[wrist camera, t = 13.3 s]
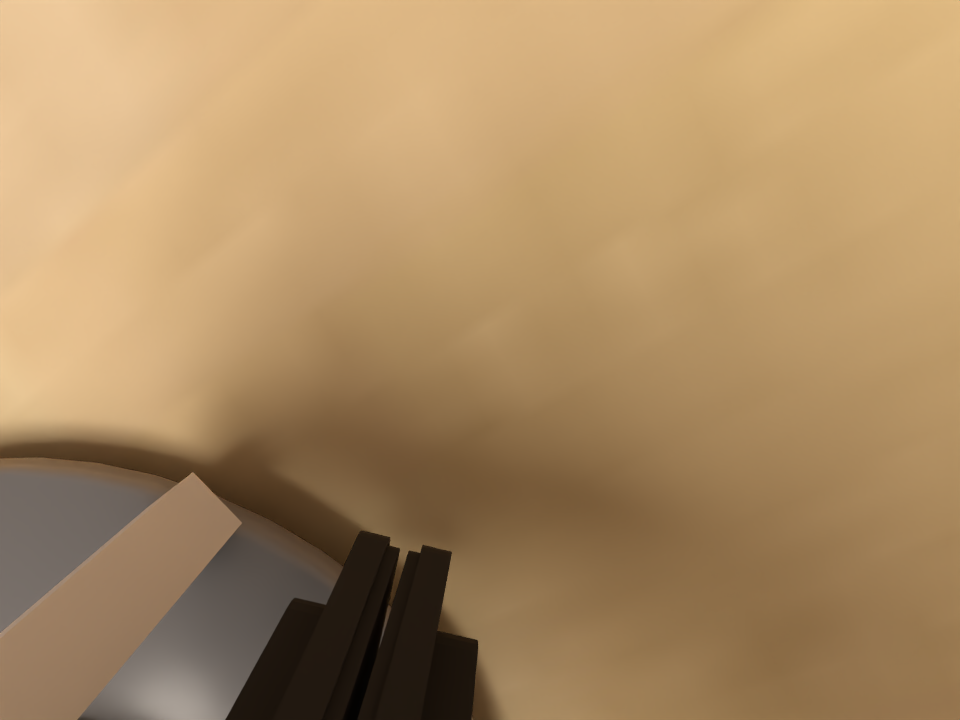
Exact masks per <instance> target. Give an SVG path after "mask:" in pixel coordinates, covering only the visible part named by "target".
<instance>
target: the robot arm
mask: <svg viewBox="0 0 960 720" xmlns="http://www.w3.org/2000/svg"><path fill="white" fill-rule="evenodd" d="M389 545H390V537H387V536H382V535H378V534H374V533H370V532H365V531H360V532H359V534H358V536H357V538H356V541H355V543H354V545H353V547H352V549H351V551H350V554H349V556H348V558H347V560H346V562H345V564H344V567H343V569H342V571H341V573H340V575H339V577H338V580H337V582H336V584H335V586H334V588H333V590H332V593H331V595H330V597H329V599H328V601H327V603H326V605H325V604H321V603H316V602H312V601H308V600H303V599H299V598H294V599H293V600H292V601H291V602H290V604H289V605H288V607H287V608H286V610H285V612H284V614H283V616H282V617H281V619H280V621H279V623H278V625H277V627H276V628H275V630H274V632H273V634H272V636H271V637H270V639H269V641H268V643H267V645H266V647H265V648H264V650H263V652H262V654H261V656H260V657H259V659H258V661H257V663H256V665H255V667H254V668H253V670H252V672H251V674H250V676H249V677H248V679H247V681H246V683H245V685H244V687H243V688H242V690H241V692H240V694H239V696H238V697H237V699H236V701H235V703H234V705H233V707H232V708H231V710H230V712H229V714H228V716H227V717H226V719H225V720H471V718H472V708H473V697H474V686H475V675H476V665H477V654H478V640H474V639H470V638H466V637H462V636H457V635H453V634H449V633H444V632H440V631H437V629H438V624H439V619H440V613H441V608H442V603H443V597H444V592H445V587H446V581H447V576H448V571H449V565H450V560H451V554H452V552H451V551H446V550H442V549H438V548H434V547H429V546H425V545H423V546H422V549H421V553H418V552H413V551H409V552H408V555H407V559H406V562H405V565H404V568H403V572H402V575H401V578H400V582H399V585H398V588H397V591H396V595H395V598H394V601H393V604H392V608H391V611H390V614H389V618H388V621H387V624H386V627H385V631H384V634H383V637H382V632H383V627H384V623H385V618H386V613H387V608H388V604H389V599H390V594H391V589H392V585H393V580H394V575H395V570H396V566H397V561H398V556H399V551H400V548H396V547H392V546H389ZM381 637H382V641H381ZM380 641H381V644H380ZM379 646H380V647H379Z"/></svg>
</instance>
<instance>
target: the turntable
mask: <svg viewBox="0 0 960 720" xmlns="http://www.w3.org/2000/svg"><path fill="white" fill-rule="evenodd" d="M342 569H343V566H342V565H340V564H339V563H338V562H336V561H335V560H334V559H332V558H331V557H330V556H328V555H327V554H326V553H324V552H323V551H322V550H320V549H318V548H317V547H315V546H313V545H311V544H310V543H308V542H306V541H305V540H303V539H301V538H300V537H298V536H296V535H295V534H293V533H291V532H290V531H288V530H286V529H285V528H283V527H281V526H280V525H278V524H276V523H274V522H273V521H271V520H269V519H267V518H265V517H262V516H260V515H258V514H256V513H254V512H252V511H249V510H247V509H245V508H243V507H241V506H238V505H236V504H234V503H232V502H230V501H228V500H225V499H223V498H221V497H219V496H217V495H215V494H214V493H213V492H212V491H211V490H210V489H209V488H208V487H207V486H206V485H205V484H204V483H203V482H202V481H201V480H200V479H199V478H198V477H197V476H196V475H195V474H194V472H192V473H191V474H190V475H188V476H187V477H186V478H185V479H183V480H182V481H181V482H179V483H178V482H175V481H172V480H169V479H166V478H163V477H160V476H157V475H153V474H148V473H143V472H139V471H134V470H129V469H125V468H120V467H115V466H111V465H106V464H101V463H95V462H85V461H74V460H64V459H53V458H42V457H31V458H0V720H225V719H226V717H227V716H228V714H229V712H230V710H231V708H232V707H233V705H234V703H235V701H236V699H237V697H238V696H239V694H240V692H241V690H242V688H243V687H244V685H245V683H246V681H247V679H248V677H249V676H250V674H251V672H252V670H253V668H254V667H255V665H256V663H257V661H258V659H259V657H260V656H261V654H262V652H263V650H264V648H265V647H266V645H267V643H268V641H269V639H270V637H271V636H272V634H273V632H274V630H275V628H276V627H277V625H278V623H279V621H280V619H281V617H282V616H283V614H284V612H285V610H286V608H287V607H288V605H289V604H290V602H291V601H292V600H293V599H294V598H299V599H303V600H308V601H312V602H316V603H321V604H325V605H326V603H327V601H328V599H329V597H330V595H331V593H332V590H333V588H334V586H335V584H336V582H337V580H338V577H339V575H340V573H341V571H342ZM390 611H391V607H390V606H389V605H388V608H387V613H386V618H385V623H384V627H383V632H382V637H383V634H384V631H385V627H386V624H387V621H388V618H389V614H390ZM382 637H381V641H382ZM381 641H380V644H381ZM379 647H380V646H379ZM471 720H474V719H473V717H472V718H471Z"/></svg>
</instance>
